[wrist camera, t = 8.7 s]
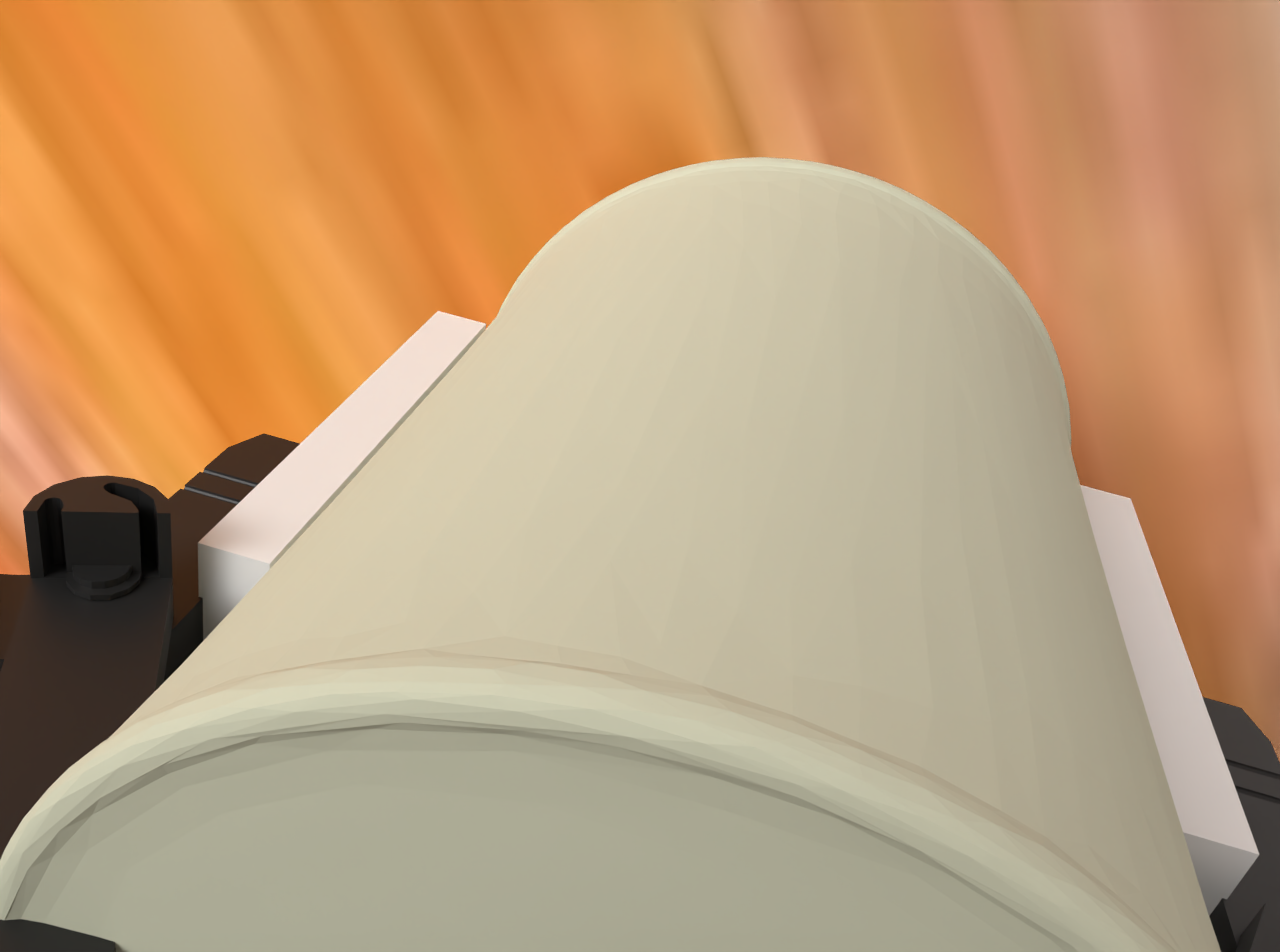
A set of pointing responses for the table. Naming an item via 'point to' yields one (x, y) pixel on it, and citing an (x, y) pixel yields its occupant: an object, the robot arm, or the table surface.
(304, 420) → the table surface
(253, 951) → the can
